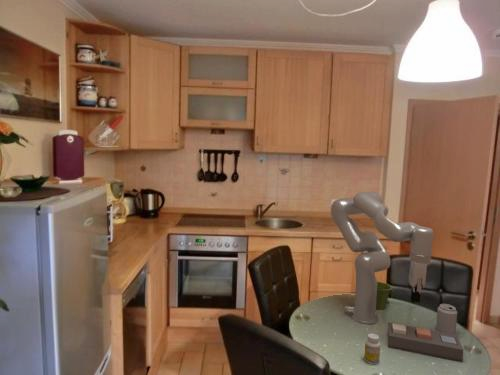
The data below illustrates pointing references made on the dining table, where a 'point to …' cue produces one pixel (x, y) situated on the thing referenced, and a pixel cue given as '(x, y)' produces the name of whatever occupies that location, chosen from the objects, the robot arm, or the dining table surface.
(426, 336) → the terracotta key
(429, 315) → the dining table surface
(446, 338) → the slate key
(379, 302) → the plant pot
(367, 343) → the supplement bottle
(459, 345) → the key panel
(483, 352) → the dining table surface
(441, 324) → the can
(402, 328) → the cream key
